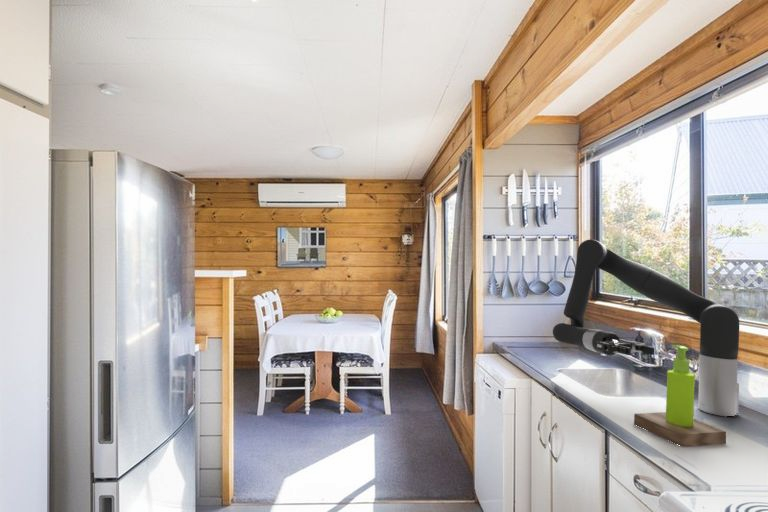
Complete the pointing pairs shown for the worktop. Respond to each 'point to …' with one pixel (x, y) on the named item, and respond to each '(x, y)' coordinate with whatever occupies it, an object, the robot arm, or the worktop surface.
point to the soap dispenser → (680, 391)
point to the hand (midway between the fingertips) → (641, 351)
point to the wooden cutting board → (680, 430)
